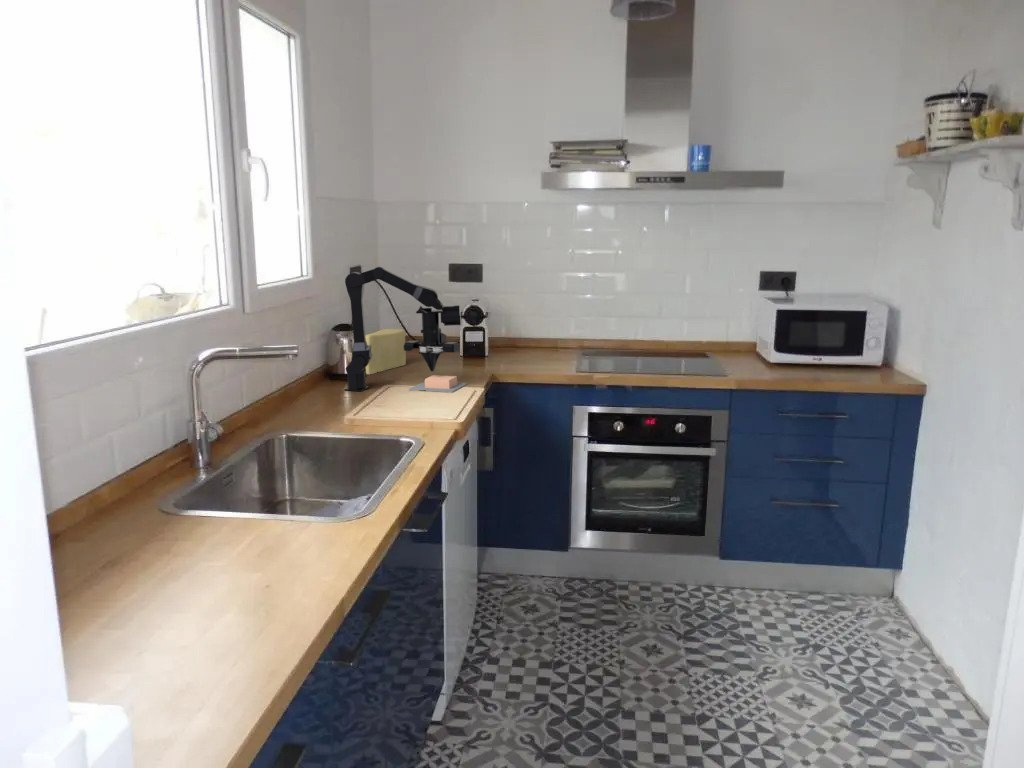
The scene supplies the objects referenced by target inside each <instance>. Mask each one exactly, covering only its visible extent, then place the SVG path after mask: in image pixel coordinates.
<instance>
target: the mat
mask: <svg viewBox="0 0 1024 768" xmlns="http://www.w3.org/2000/svg"><path fill="white" fill-rule="evenodd" d="M467 385H468V383H467V382H457V385H456V386H454V387H452V388H450V389H440V388H425V381H423V382H421V383H418V384H416V385H414V386H412V387H410V388H408V391H413V390H427V391H426V392H430V391H439V392H438V393H448V392H453V393H454V392H456V391H458V390H460V389H462V388H463V387H466V386H467ZM455 390H456V391H455Z"/></svg>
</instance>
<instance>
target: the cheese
mask: <svg viewBox="0 0 1024 768" xmlns="http://www.w3.org/2000/svg"><path fill="white" fill-rule="evenodd" d="M365 338H366V342H367V345H372V347H371V353H372V355H373V356H372V358H371V360H370V362H369V363H368V365H367V366H366V367H365V375H368V376H369V375H370V374H371V375H374V374H378V373H381V372H384V371H388V370H391V369H395V368H399V367H403V366H406V364H407V357H406V356H407V351H404V347H403V346H404V343H405V342H406V333H405V329H403V328H401V329H400V328H384V329H381V330H378V331H375V332H372V333H369V334H368V333H367V334H365ZM377 372H378V373H377Z"/></svg>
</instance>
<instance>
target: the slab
mask: <svg viewBox="0 0 1024 768" xmlns="http://www.w3.org/2000/svg"><path fill="white" fill-rule="evenodd" d="M424 382H425V388H440V389H450V388H452V387H454V386H456V385H457V383H458V376H456V375H438V374H433V375H430V376H429V377H426V378H425V379H424Z"/></svg>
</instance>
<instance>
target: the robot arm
mask: <svg viewBox="0 0 1024 768" xmlns="http://www.w3.org/2000/svg"><path fill="white" fill-rule="evenodd" d="M377 280H379V281H382V282H383V283H386V284H388V285H390V286H391V287H394V288H396V289H398V290H399V291H401V292H404V293H406V294H408V295H410V296H411V297H413V298H414V299H415V300H416V301H418V302H419V303H420V304H421V305H420V306H419V307H418V309H417V310H416V311H415V313H416V314H421V327H422V328H421V329H420V333H421V334H422V341H420V340H409V341H405V343H404V346H403V347H404V351H406V352H409V351H410V352H412V351H413V350H414V349H419V351H418V354H420V355H421V356H422V358H423V359H424V361H425V363H426V364H427V366H428V368H429V371H430V372H435V369H436V366H437V363H438V359H439V357H440V356H441V354H443V353H456V352H458V351H459V350H460V343H459V342H458V341H447V337H448V336H447V334H445V333H443V332H442V329H441V327H440V323H441V324H443V326H447V327H448V326H462V325H461V313H460V305H457V304H456V305H443V302H441V300H440V299H439V295H438V294H439V293H438V292H437V291H436V290H435V289H433V288H431V287H427V286H423V285H419V284H417V283H413V282H412V281H409V280H407V279H405V278H403V277H401V276H399V275H397V274H395V273H393V272H391V271H389V270H387V269H385V268H384V267H383V266H376V267H375V268H372V269H370V270H366V271H363V272H359V271H353V272H351V273H348V275H347V276H346V277H345V280H344V283H345V287H346V291H347V294H348V297H349V300H350V307H351V309H350V310H351V321H352V333H353V346H352V353H351V361H350V362H349V363H348V364H347V365H346V367H345V371H346V373H347V374H346V375H347V387H345V388H343V389H344V391H349V392H350V391H351V392H352V391H353V392H362V391H365V390H367V389H370V388H371V387H370V385H366V383H367V382H366V366H367V365H368V363H369V362H370V360H371V358H372V356H373V355H372V353H371V347H372V345H367V342H366V338H365V336H366V328H365V327H366V326H365V316H364V314H365V313H364V304H363V298H364V292H365V284H368V283H371V282H374V281H377ZM422 305H423V306H425V307H423V306H422ZM432 308H433V309H434V310H432ZM439 314H440V315H439Z"/></svg>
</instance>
